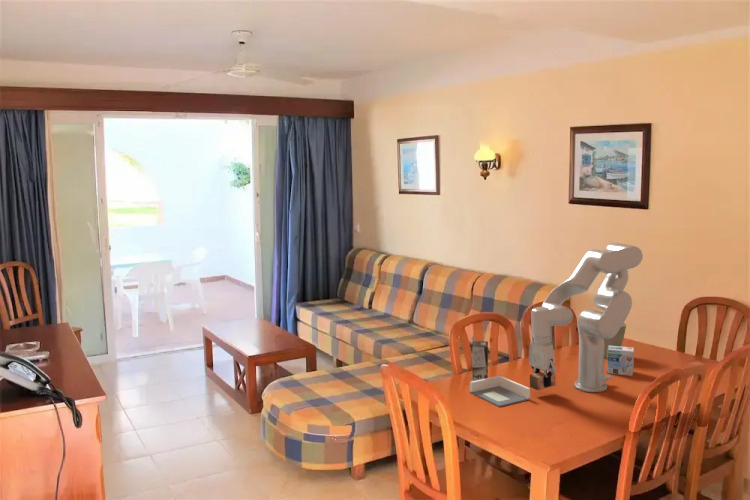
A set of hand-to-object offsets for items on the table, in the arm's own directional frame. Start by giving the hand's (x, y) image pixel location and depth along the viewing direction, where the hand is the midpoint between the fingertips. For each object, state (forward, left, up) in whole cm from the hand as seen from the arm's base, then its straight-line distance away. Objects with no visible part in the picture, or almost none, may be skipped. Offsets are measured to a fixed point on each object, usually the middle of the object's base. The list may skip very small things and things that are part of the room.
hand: (542, 383), depth 251 cm
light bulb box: (-47, -3, -5) cm, 47 cm away
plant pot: (-61, -22, -4) cm, 65 cm away
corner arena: (+16, -7, -4) cm, 18 cm away
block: (0, 0, -1) cm, 1 cm away
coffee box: (+11, -25, -4) cm, 28 cm away
